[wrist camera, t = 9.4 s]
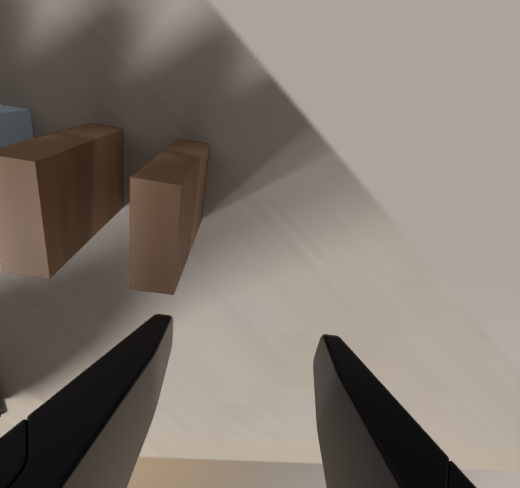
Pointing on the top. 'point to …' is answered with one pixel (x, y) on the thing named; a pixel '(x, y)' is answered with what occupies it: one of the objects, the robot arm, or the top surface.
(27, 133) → the blue tile
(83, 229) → the tile
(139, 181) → the tile
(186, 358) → the top surface
